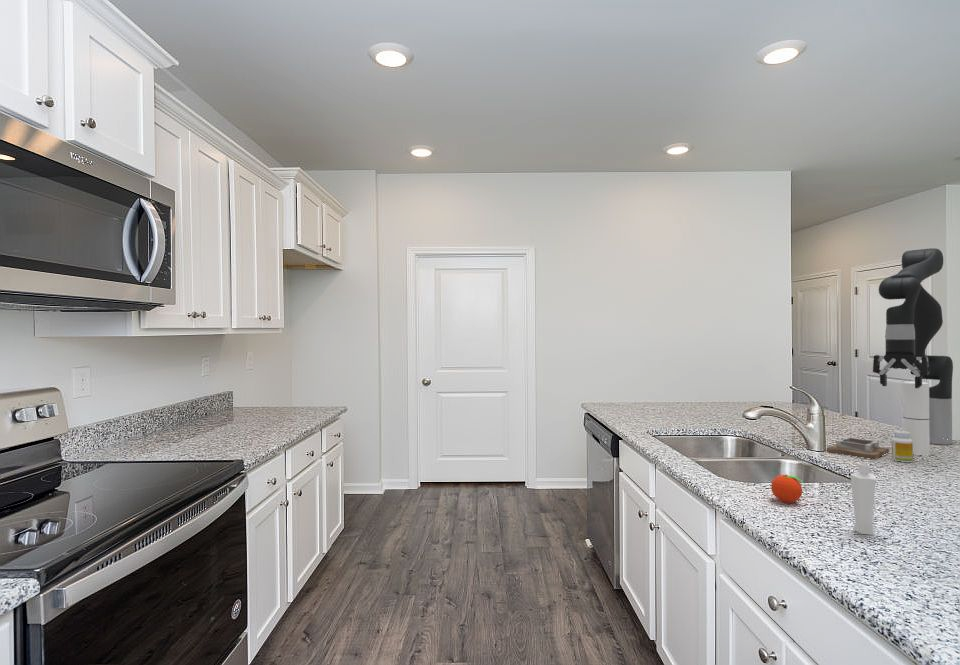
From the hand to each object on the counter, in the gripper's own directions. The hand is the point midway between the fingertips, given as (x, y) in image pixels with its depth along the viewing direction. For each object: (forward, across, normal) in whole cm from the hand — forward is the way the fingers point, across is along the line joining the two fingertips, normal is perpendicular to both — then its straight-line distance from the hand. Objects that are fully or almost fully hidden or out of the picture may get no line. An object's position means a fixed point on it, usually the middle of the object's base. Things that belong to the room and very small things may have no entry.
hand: (900, 387), depth 166 cm
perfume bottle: (+25, -12, +76) cm, 81 cm away
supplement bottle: (+25, 0, -2) cm, 25 cm away
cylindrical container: (+25, 0, -17) cm, 30 cm away
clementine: (+25, +6, +70) cm, 74 cm away
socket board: (+25, +13, -4) cm, 28 cm away
